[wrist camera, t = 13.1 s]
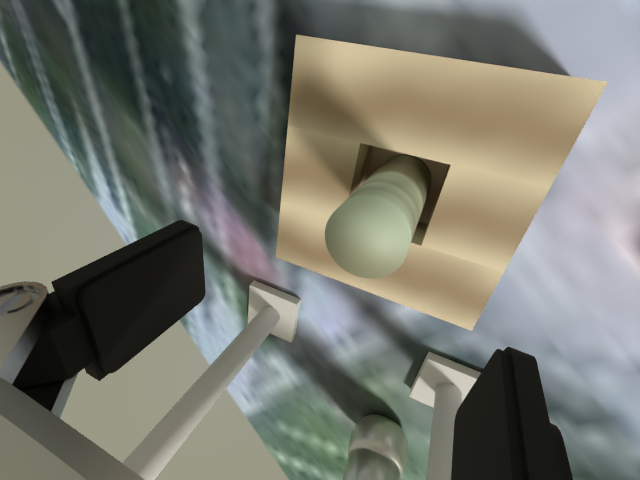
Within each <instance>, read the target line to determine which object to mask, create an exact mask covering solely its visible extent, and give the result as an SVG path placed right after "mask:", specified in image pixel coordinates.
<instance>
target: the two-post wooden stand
mask: <svg viewBox="0 0 640 480" xmlns="http://www.w3.org/2000/svg"><path fill="white" fill-rule="evenodd" d="M300 302H301V299H299V298H297V297H294V296H292V295H289V294H287V293H284V292H282V291H279V290H277V289H274V288H272V287H270V286H267V285H265V284H262V283H260V282H257V281H255V280H254V281H253V282H252V283H251V284H250V285H249V308H248V325H247V326H246V327H245V328H244V329H243V330H242V331H241V332H240V334H239V335H238V336H237V337H236V338H235V339H234V340H233V341H232V342H231V344H230V345H229V346H228V347H227V348H226V349H225V350H224V351H223V352H222V353H221V355H220V356H219V357H218V358H217V359H216V360H215V361H214V362H213V363H212V364H211V366H210V367H209V368H208V369H207V370H206V371H205V372H204V373H203V375H202V376H201V377H200V378H199V379H198V380H197V381H196V382H195V383H194V384H193V385H192V387H191V388H190V389H189V390H188V391H187V392H186V393H185V394H184V395H183V397H182V398H181V399H180V400H179V401H178V402H177V403H176V404H175V406H173V408H172V409H171V410H170V411H169V412H168V413H167V414H166V415H165V416H164V418H163V419H162V420H161V421H160V422H159V423H158V424H157V425H156V426H155V428H154V429H153V430H152V431H151V432H150V433H149V434H148V435H147V436H146V438H144V440H143V441H142V442H141V443H140V444H139V445H138V446H137V447H136V449H135V450H134V451H133V452H132V453H131V454H130V455H129V456H128V457H127V458H126V459H125V461H124V462H123V464H124V465H125V466H127V467H128V468H130V469H131V470H132V471H134V472H135V473H136V474H138V475H139V476H141V477H142V478H143V479H145V480H154V479H155V478H156V477H157V475H158V474H159V473H160V471H161V470H162V469H163V468H164V466H165V465H166V464H167V463H168V461H169V460H170V459H171V458H172V456H173V455H174V454H175V453H176V451H177V450H178V449H179V447H180V446H181V445H182V444H183V442H184V441H185V440H186V438H187V437H188V436H189V435H190V433H191V432H192V431H193V430H194V428H195V427H196V426H197V425H198V423H199V422H200V421H201V419H202V418H203V417H204V416H205V414H206V413H207V412H208V411H209V409H210V408H211V407H212V405H213V404H214V403H215V402H216V400H217V399H218V398H219V397H220V395H221V394H222V393H223V392H224V390H225V389H226V388H227V386H228V385H229V384H230V383H231V381H232V380H233V379H234V378H235V376H236V375H237V374H238V372H239V371H240V370H241V369H242V367H243V366H244V365H245V364H246V362H247V361H248V360H249V359H250V357H251V356H252V355H253V353H254V352H255V351H256V350H257V348H258V347H259V346H260V345H261V343H262V342H263V341H264V339H265V338H266V337H267V336H268V334H269V333H270V334H272V335H275V336H277V337H279V338H281V339H283V340H286V341H288V342H290V343H292V341H293V340H294V338H295V335H296V328H297V322H298V315H299V309H300ZM480 374H481V372H478V371H476V370H473V369H471V368H468V367H466V366H463V365H461V364H458V363H456V362H454V361H451V360H449V359H446V358H444V357H441V356H439V355H436V354H434V353H431V352H429V351H428V354H427V356H426V358H425V360H424V362H423V364H422V366H421V368H420V370H419V373H418V375H417V377H416V379H415V381H414V383H413V385H412V387H411V390H410V396H409V397H411V398H413V399H415V400H418V401H420V402H422V403H424V404H426V405H429V406H431V407H433V408H434V409H433V419H432V429H431V439H430V449H429V459H428V469H427V479H426V480H451V469H452V453H453V436H454V421H455V416H456V413H457V410H458V408H459V406H460V405H461V403H462V402H463V400H464V399H465V397H466V396H467V394H468V392H469V391H470V389H471V388H472V386H473V385H474V383H475V382H476V380H477V378H478V377H479V375H480Z"/></svg>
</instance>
